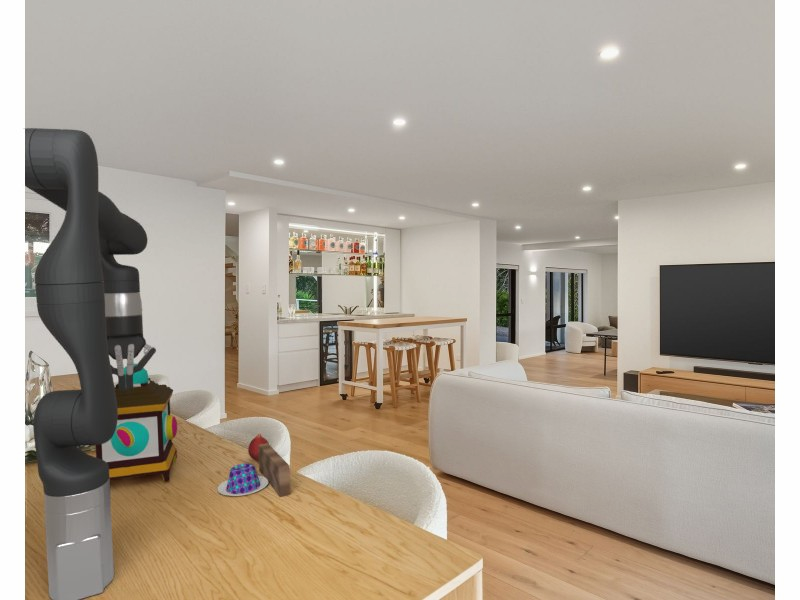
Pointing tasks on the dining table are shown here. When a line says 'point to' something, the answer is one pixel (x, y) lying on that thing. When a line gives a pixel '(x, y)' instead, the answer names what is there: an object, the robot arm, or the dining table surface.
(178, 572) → the dining table surface
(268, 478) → the walnut board
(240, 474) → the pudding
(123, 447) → the decorative lantern
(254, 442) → the onion
